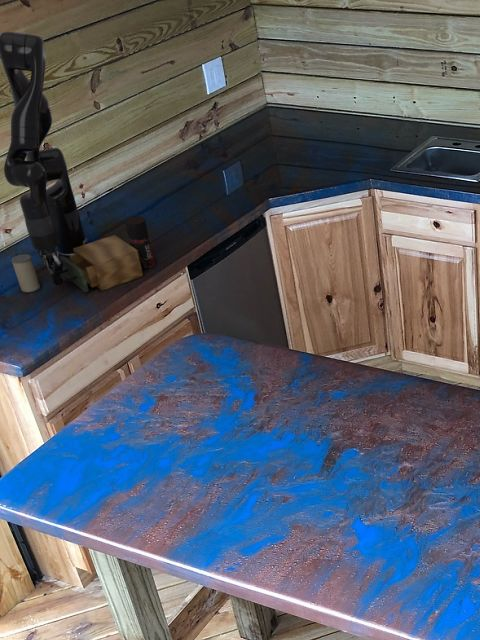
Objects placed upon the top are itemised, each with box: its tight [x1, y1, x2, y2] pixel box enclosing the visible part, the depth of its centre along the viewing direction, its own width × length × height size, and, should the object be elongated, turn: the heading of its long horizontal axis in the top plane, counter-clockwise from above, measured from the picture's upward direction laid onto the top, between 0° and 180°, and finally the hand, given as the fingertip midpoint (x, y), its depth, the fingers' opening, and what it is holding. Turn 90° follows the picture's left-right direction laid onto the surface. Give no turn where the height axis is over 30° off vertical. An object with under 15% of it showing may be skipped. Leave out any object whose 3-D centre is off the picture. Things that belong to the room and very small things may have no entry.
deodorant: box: [124, 216, 156, 270], centre depth 284 cm, size 6×6×15 cm
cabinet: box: [73, 234, 144, 291], centre depth 281 cm, size 14×15×9 cm
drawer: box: [59, 253, 99, 293], centre depth 277 cm, size 17×14×7 cm
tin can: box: [10, 253, 41, 294], centre depth 274 cm, size 6×6×10 cm
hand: (58, 283), depth 271 cm, fingers closed
